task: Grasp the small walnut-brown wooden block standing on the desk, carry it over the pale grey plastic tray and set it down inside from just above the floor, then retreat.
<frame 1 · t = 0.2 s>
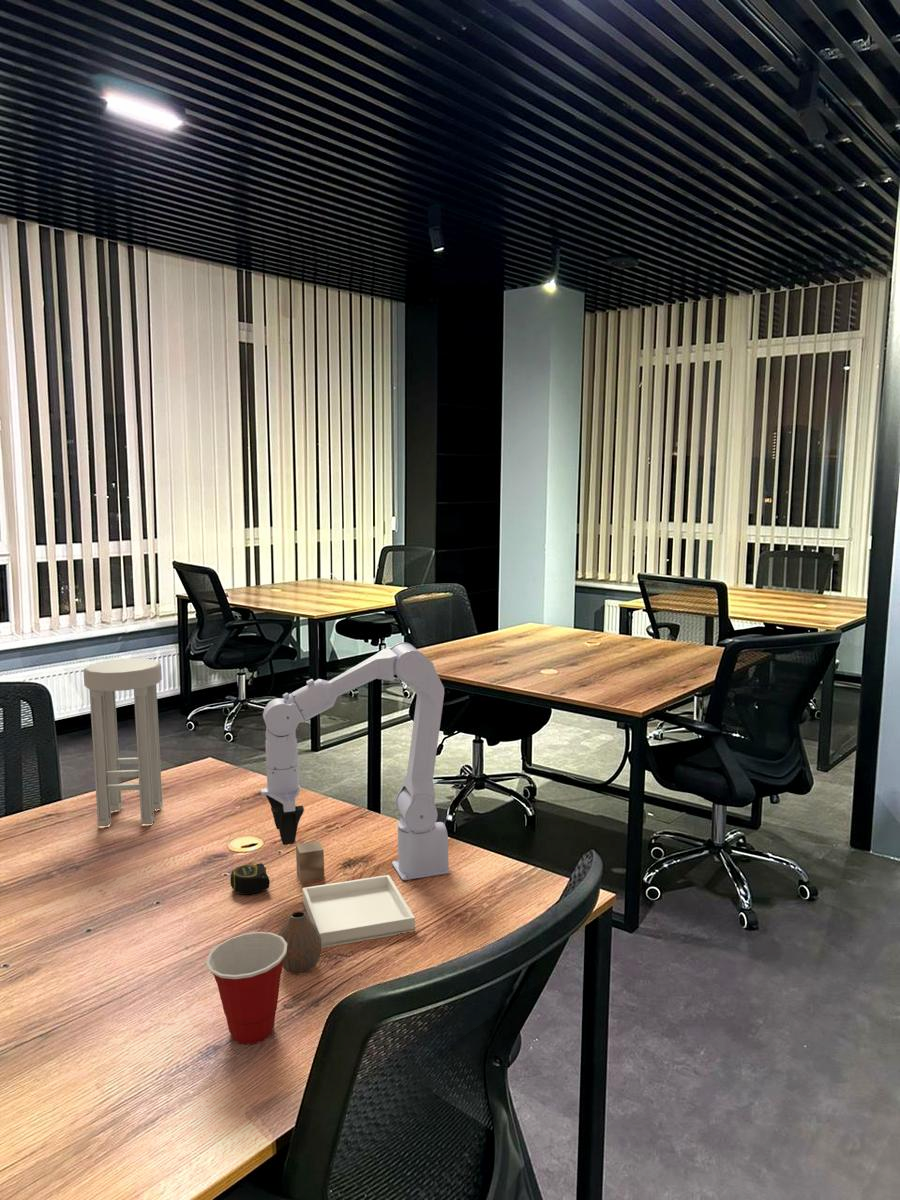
hand: (285, 835, 163), 10 cm above the table, fingers open, 7 cm apart
tray: (356, 915, 153), on the table
stool: (131, 818, 199), on the table
vase: (299, 968, 137), on the table
walnut block: (310, 876, 169), on the table
plastic cup: (250, 1033, 121), on the table
tape measure: (253, 889, 164), on the table
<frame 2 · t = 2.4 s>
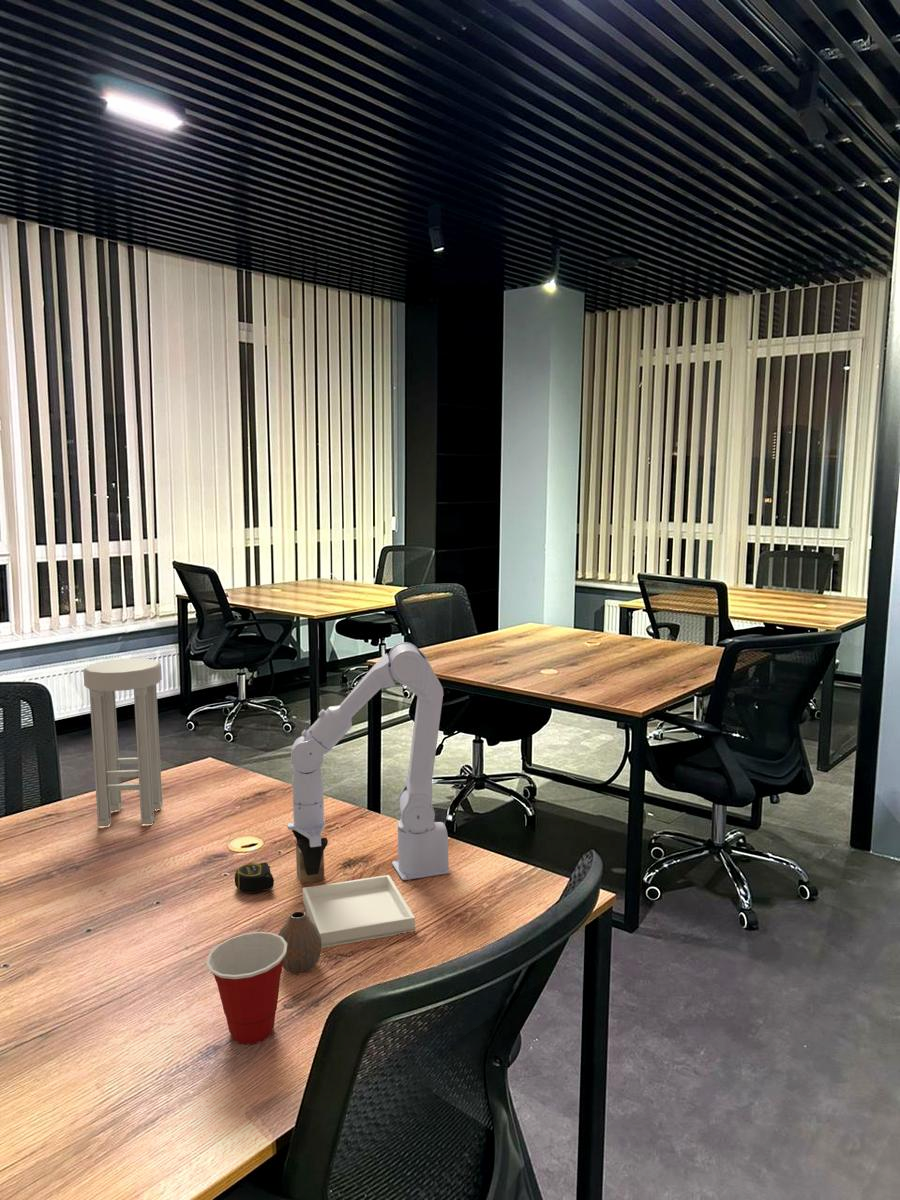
hand: (310, 868, 168), 2 cm above the table, fingers closed on walnut block, 4 cm apart
walnut block: (310, 876, 169), on the table, touching gripper
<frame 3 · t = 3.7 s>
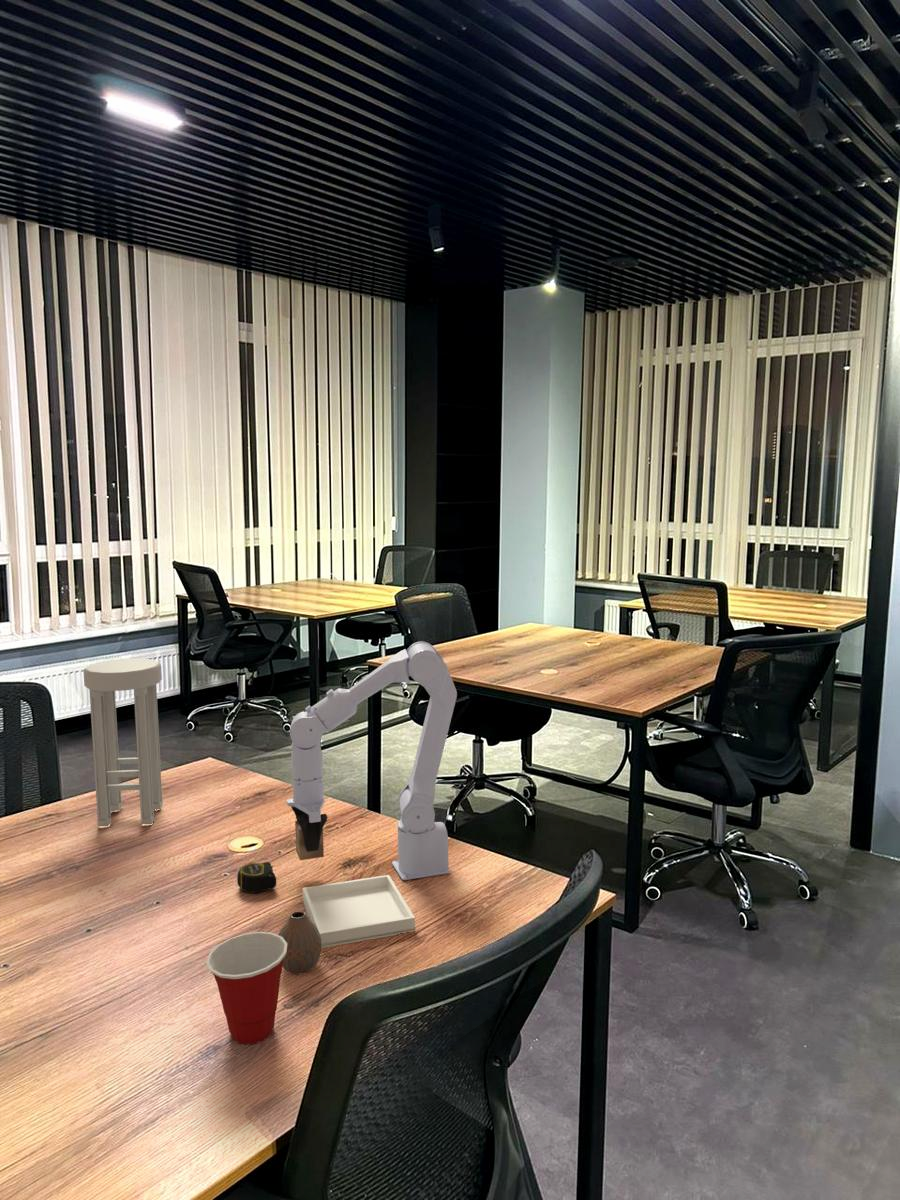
hand: (309, 845, 168), 6 cm above the table, fingers closed on walnut block, 4 cm apart
walnut block: (309, 853, 168), point 5 cm above the table, touching gripper
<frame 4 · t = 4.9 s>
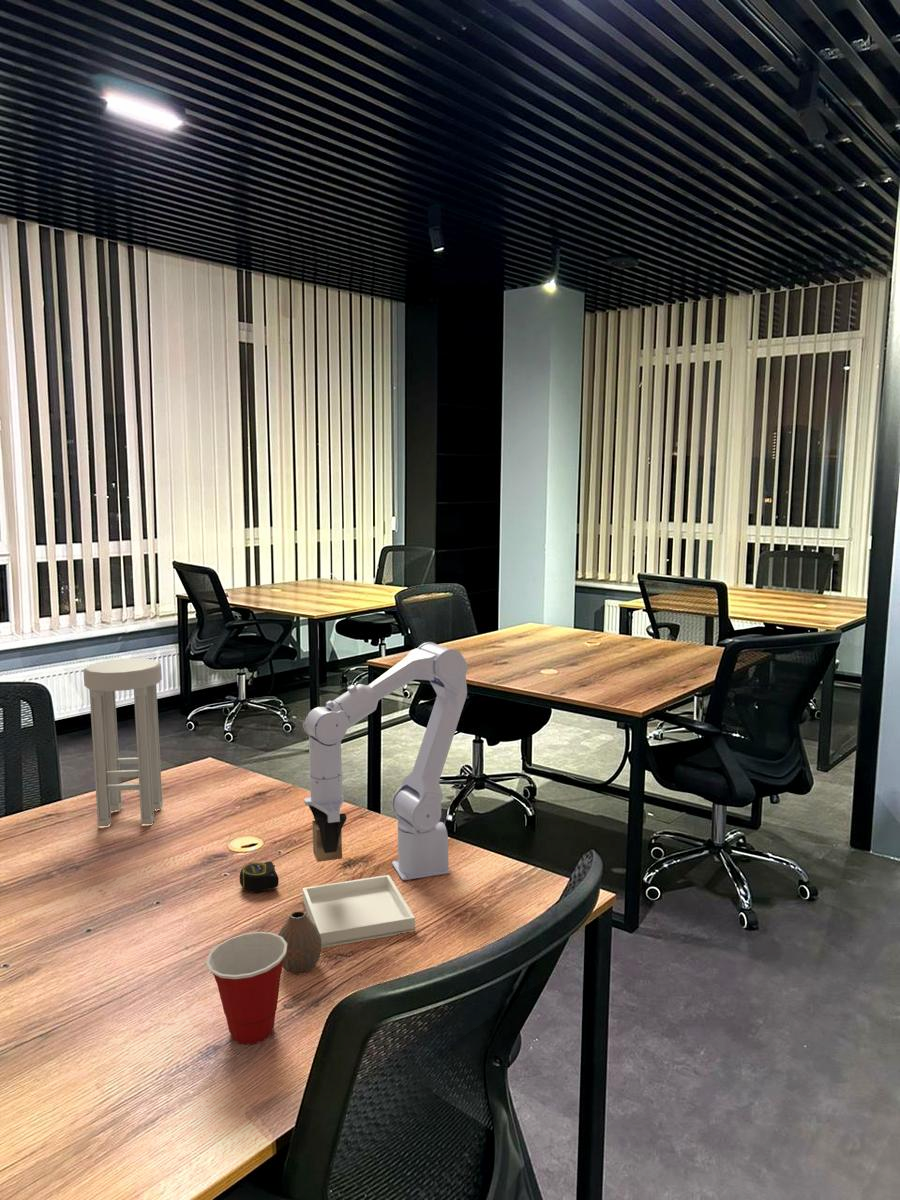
hand: (327, 846, 161), 9 cm above the table, fingers closed on walnut block, 4 cm apart
walnut block: (327, 855, 161), point 7 cm above the table, touching gripper
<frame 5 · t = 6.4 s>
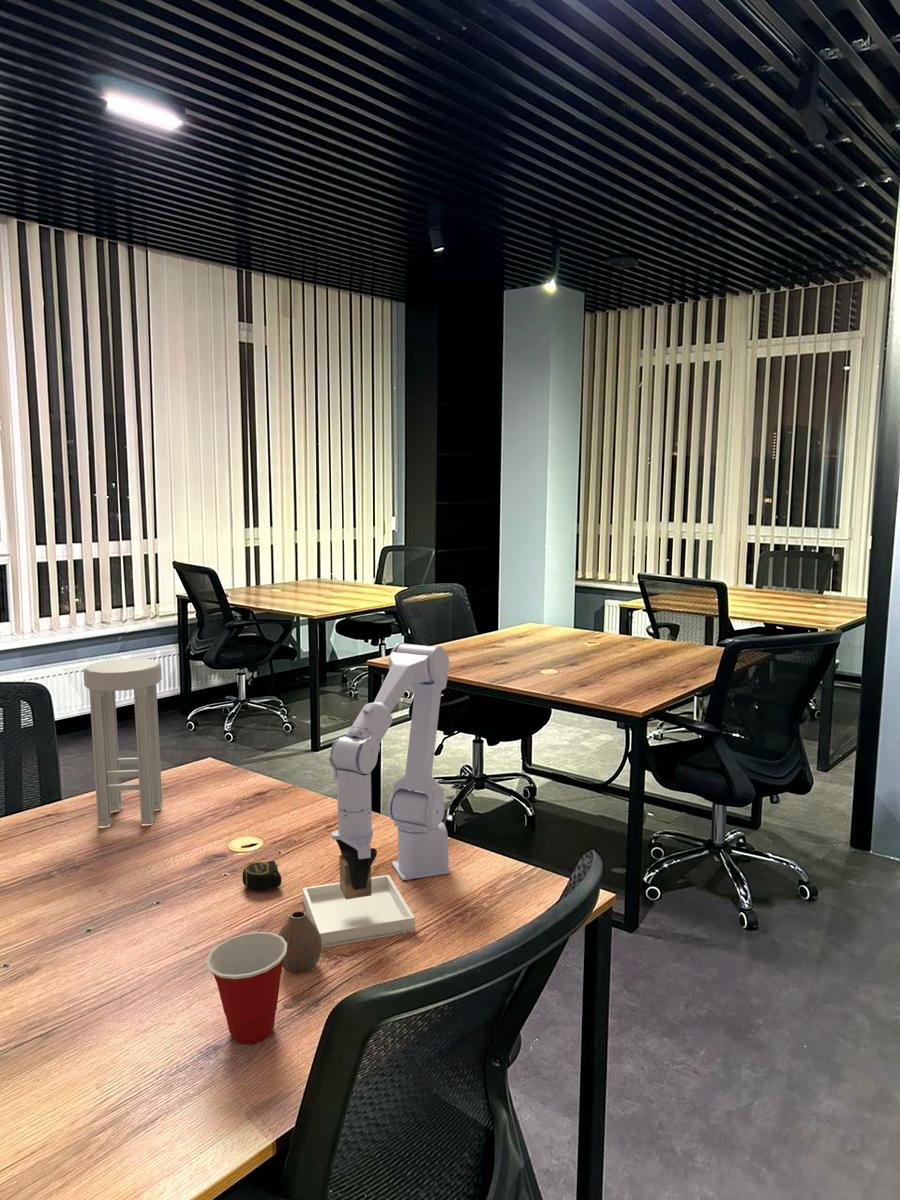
hand: (356, 881, 152), 6 cm above the table, fingers closed on walnut block, 4 cm apart
walnut block: (355, 891, 153), point 4 cm above the table, touching gripper
when the fingers open (4 cm above the table, at t = 7.7 s): walnut block drops 2 cm, resting on tray.
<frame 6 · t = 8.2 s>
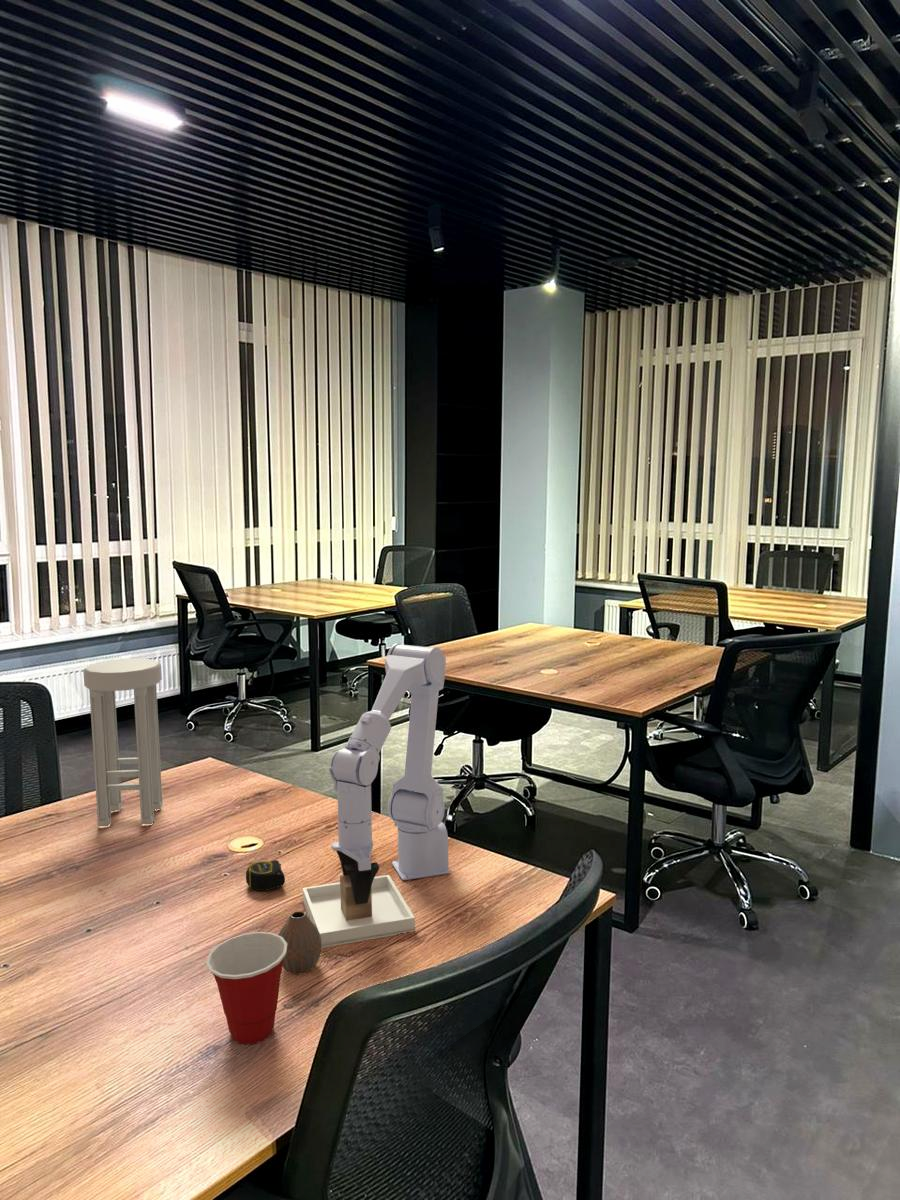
hand: (356, 892, 153), 4 cm above the table, fingers open, 7 cm apart
walnut block: (356, 912, 153), point 1 cm above the table, touching tray
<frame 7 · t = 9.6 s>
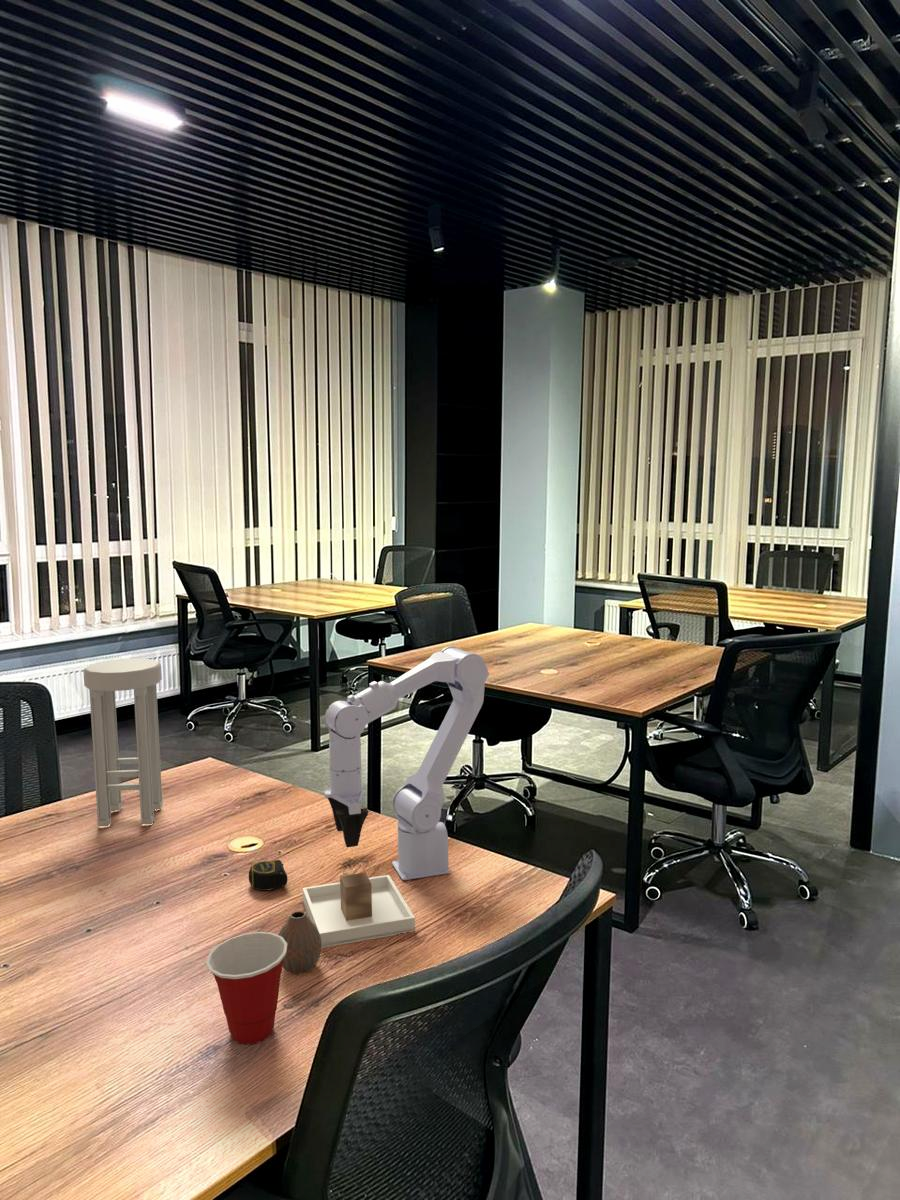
hand: (347, 838, 163), 9 cm above the table, fingers open, 7 cm apart
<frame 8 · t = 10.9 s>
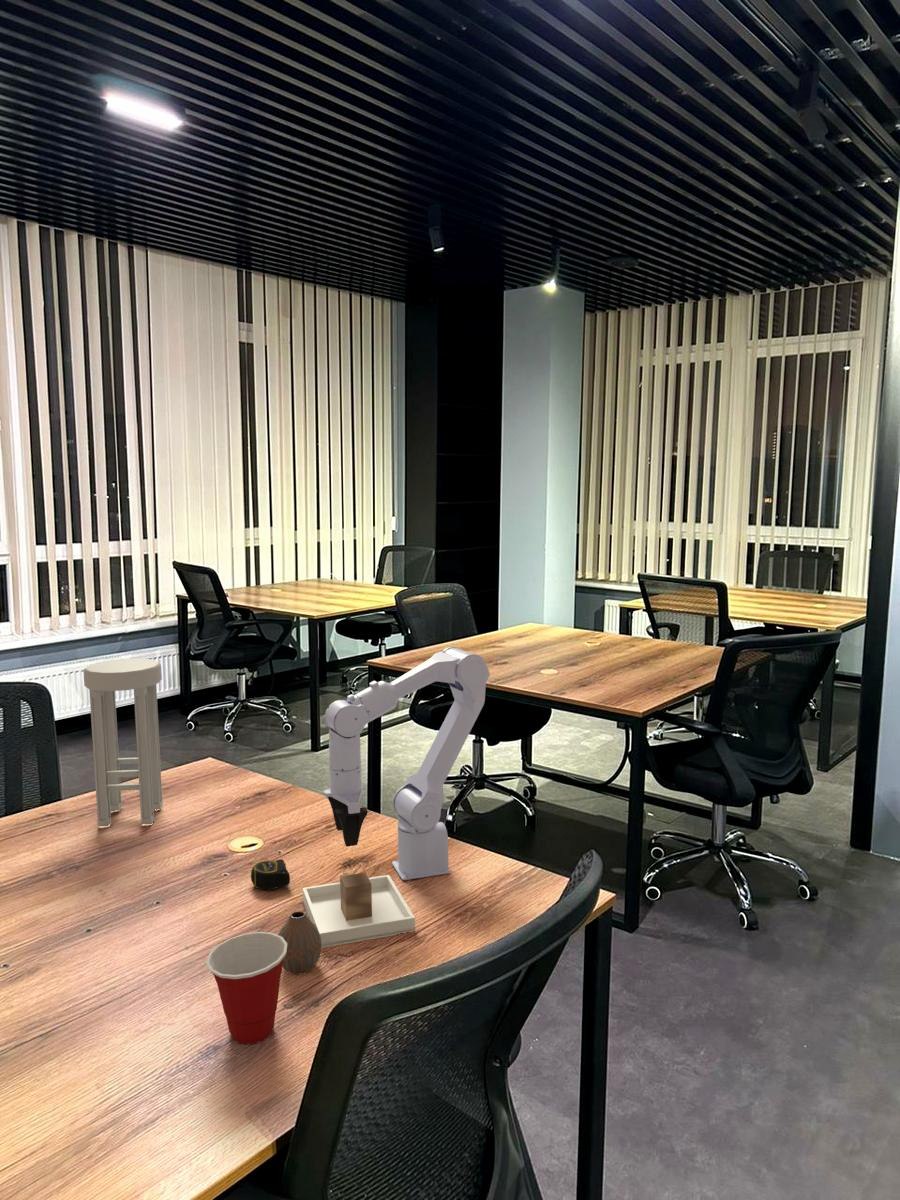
hand: (346, 837, 163), 9 cm above the table, fingers open, 7 cm apart
at the end: walnut block inside the target area on the tray (0.1 cm from its centre), point 0.6 cm above the tray's base; the gripper is holding nothing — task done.
